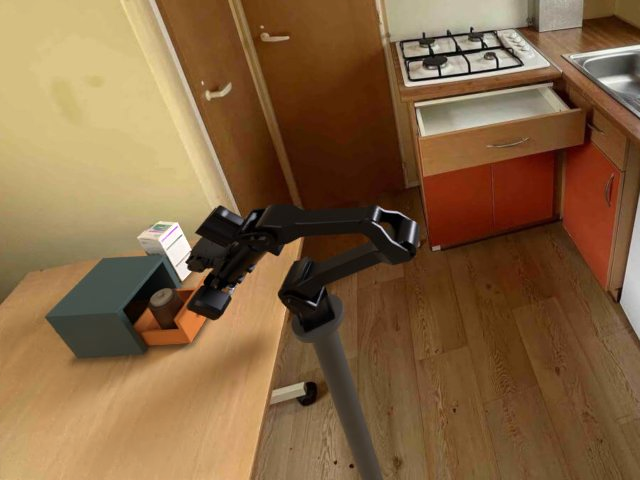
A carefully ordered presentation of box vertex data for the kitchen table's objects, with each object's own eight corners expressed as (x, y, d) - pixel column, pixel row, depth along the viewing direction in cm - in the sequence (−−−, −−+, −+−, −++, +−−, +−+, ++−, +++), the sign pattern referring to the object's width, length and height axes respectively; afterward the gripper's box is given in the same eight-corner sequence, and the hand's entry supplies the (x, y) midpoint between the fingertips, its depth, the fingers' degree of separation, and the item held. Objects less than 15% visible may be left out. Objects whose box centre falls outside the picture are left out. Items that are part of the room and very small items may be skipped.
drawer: (224, 298, 98) (213, 275, 94) (196, 342, 88) (183, 319, 85) (167, 301, 97) (154, 278, 93) (134, 346, 88) (118, 323, 84)
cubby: (186, 294, 99) (164, 254, 93) (144, 354, 86) (116, 312, 80) (128, 298, 98) (102, 257, 92) (77, 358, 86) (44, 316, 80)
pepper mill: (197, 316, 93) (180, 284, 88) (177, 338, 88) (158, 305, 83) (178, 312, 93) (160, 281, 89) (157, 333, 89) (137, 301, 84)
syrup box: (200, 263, 107) (179, 220, 100) (181, 283, 102) (158, 239, 95) (179, 261, 107) (157, 219, 101) (160, 281, 102) (135, 237, 96)
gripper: (234, 200, 90) (198, 240, 94) (178, 272, 73) (138, 317, 78) (281, 225, 94) (245, 263, 99) (238, 299, 78) (197, 340, 82)
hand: (209, 292), depth 89 cm, fingers closed
